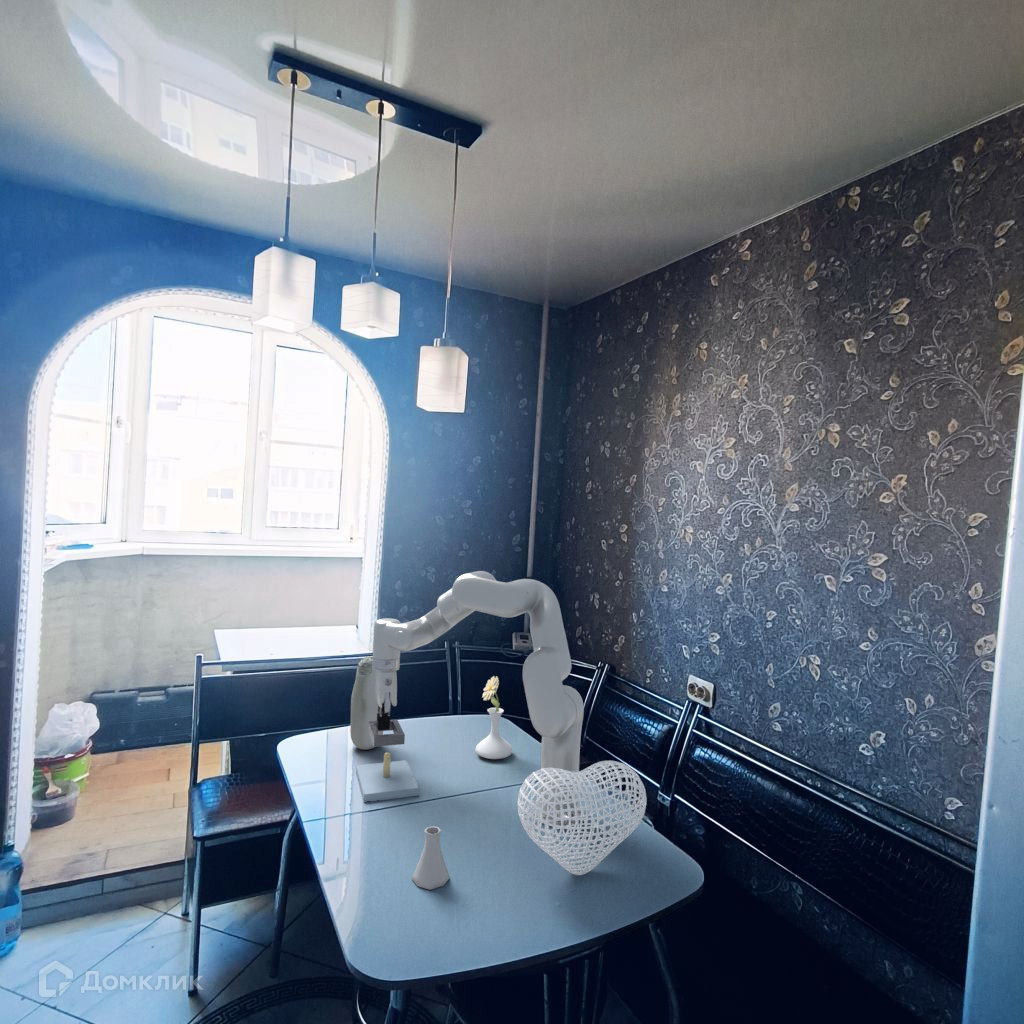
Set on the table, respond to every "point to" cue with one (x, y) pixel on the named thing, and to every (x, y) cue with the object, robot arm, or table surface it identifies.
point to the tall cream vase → (363, 705)
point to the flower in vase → (493, 727)
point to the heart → (581, 778)
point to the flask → (431, 862)
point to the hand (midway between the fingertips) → (383, 728)
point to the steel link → (386, 739)
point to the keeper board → (386, 780)
